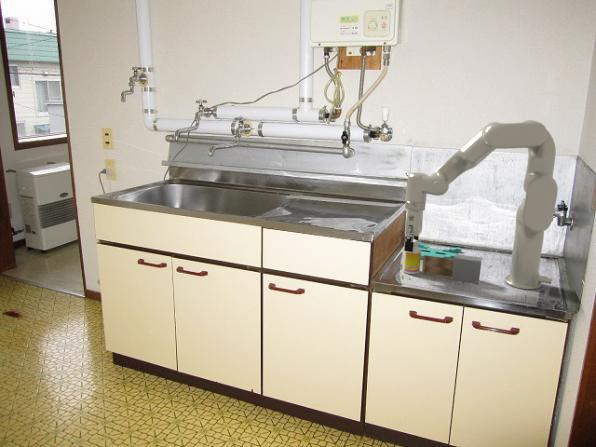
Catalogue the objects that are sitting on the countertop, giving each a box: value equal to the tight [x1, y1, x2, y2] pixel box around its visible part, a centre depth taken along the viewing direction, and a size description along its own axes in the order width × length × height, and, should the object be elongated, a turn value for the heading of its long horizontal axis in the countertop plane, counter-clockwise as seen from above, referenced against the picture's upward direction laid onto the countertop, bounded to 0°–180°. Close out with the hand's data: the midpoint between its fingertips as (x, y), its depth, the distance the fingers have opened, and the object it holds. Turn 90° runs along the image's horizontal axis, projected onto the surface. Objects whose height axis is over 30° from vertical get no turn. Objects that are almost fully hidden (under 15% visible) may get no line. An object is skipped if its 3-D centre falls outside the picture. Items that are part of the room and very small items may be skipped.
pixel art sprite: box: [418, 241, 462, 261], centre depth 214 cm, size 20×2×20 cm
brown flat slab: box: [421, 255, 454, 278], centre depth 187 cm, size 14×1×7 cm, turn 65°
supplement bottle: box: [402, 239, 421, 275], centre depth 191 cm, size 7×7×13 cm
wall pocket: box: [451, 253, 483, 285], centre depth 184 cm, size 10×5×9 cm, turn 65°
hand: (411, 247), depth 191 cm, fingers open, 9 cm apart
